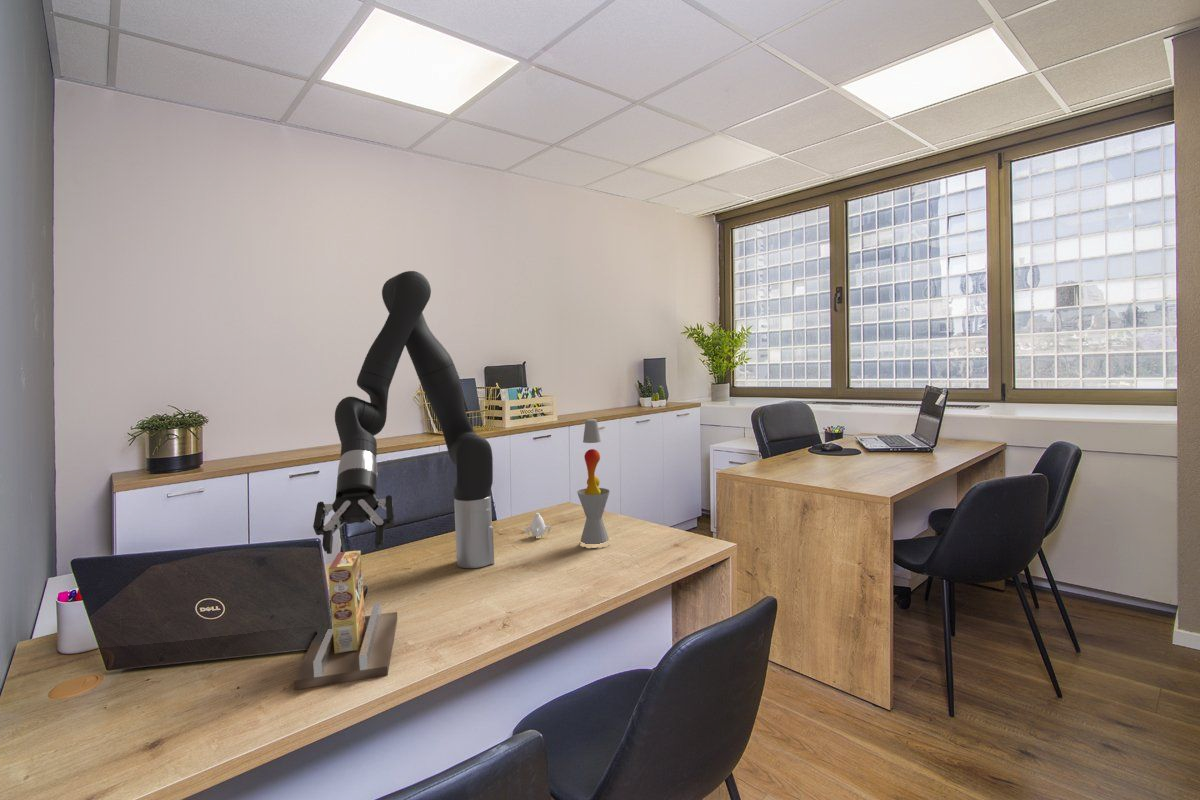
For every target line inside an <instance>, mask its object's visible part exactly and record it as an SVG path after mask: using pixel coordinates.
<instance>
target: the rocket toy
mask: <svg viewBox="0 0 1200 800" xmlns="http://www.w3.org/2000/svg"><path fill="white" fill-rule="evenodd" d="M540 514H541V513H540V512H538V511H536V513H535V514H534V517H533V518H532V521H531V523H530V524H531V525H529V526H525V527H524V529H525V532H526V534H527V536H528V535H529V536H530V533H529V531H530V532H531V534H532V536H533V537H534V536H537V537H538V536H540V535H543V534H545V531H546V530H547V534H548V533H549V534H550V531H551V529H552V526H551V525H546V524H545V520H544V519H543V517H542V515H540ZM543 536H544V535H543Z"/></svg>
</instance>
